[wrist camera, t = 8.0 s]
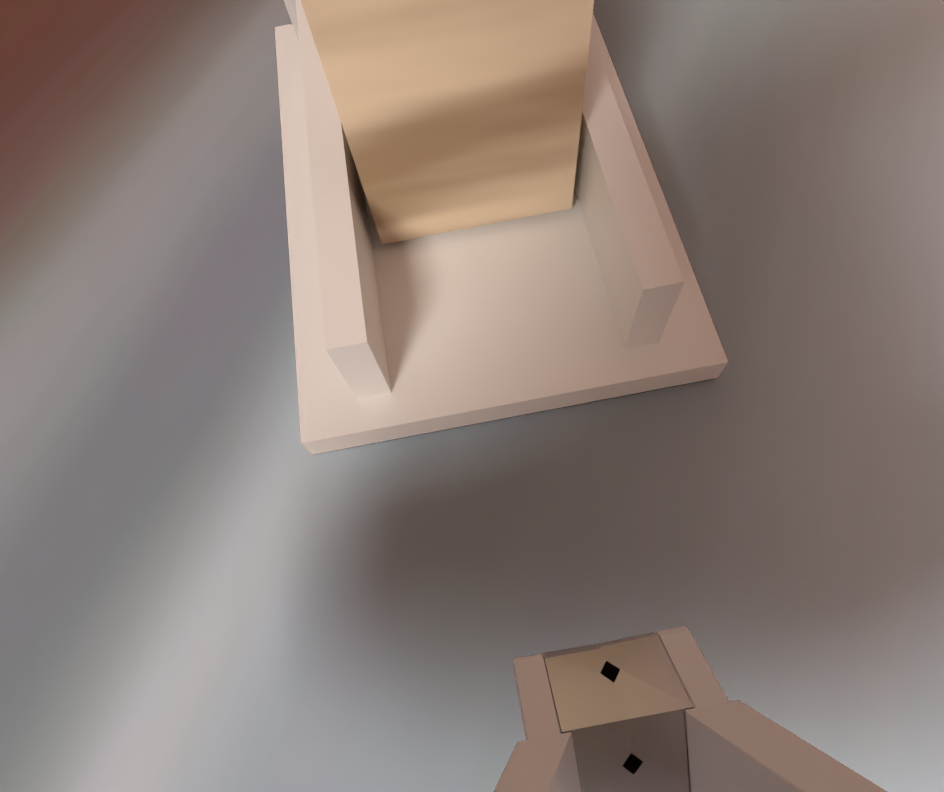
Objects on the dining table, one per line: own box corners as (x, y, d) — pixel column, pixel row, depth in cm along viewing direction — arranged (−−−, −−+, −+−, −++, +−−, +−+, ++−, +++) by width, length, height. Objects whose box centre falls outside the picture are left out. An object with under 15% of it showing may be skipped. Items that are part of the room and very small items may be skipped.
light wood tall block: (575, 210, 19) (626, -220, 10) (379, 247, 19) (243, -148, 10) (539, 93, 21) (552, -353, 12) (362, 126, 21) (238, -293, 12)
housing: (718, 377, 18) (784, 279, 13) (312, 454, 18) (241, 382, 13) (574, -5, 25) (586, -154, 21) (283, 50, 25) (231, -87, 21)
